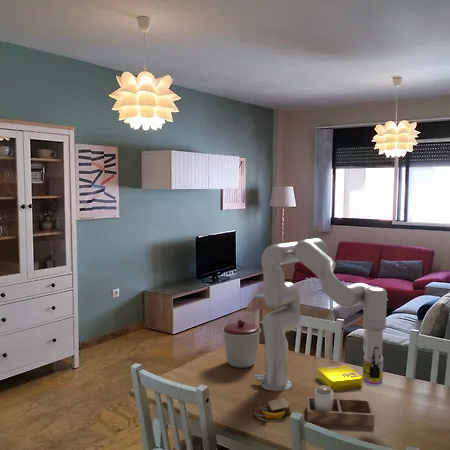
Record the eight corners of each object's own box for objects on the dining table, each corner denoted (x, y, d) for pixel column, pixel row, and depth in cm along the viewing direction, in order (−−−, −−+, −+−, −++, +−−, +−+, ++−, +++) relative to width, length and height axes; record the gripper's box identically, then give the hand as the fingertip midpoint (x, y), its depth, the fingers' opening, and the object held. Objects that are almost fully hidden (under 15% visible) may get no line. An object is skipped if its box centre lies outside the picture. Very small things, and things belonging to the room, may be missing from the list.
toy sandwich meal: (252, 408, 182) (252, 396, 181) (288, 407, 182) (288, 395, 182) (255, 424, 169) (255, 411, 169) (294, 423, 169) (294, 410, 169)
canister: (220, 357, 234) (220, 315, 232) (257, 356, 236) (257, 313, 234) (224, 372, 216) (224, 326, 214) (264, 370, 218) (264, 324, 216)
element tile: (346, 374, 214) (346, 363, 213) (364, 388, 199) (364, 376, 199) (315, 377, 210) (315, 366, 210) (330, 391, 196) (330, 380, 195)
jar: (314, 419, 171) (315, 391, 170) (314, 410, 177) (314, 384, 176) (333, 420, 170) (333, 392, 169) (331, 411, 176) (332, 385, 175)
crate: (307, 424, 168) (307, 411, 168) (306, 409, 180) (306, 396, 179) (374, 428, 165) (374, 414, 165) (368, 412, 177) (368, 400, 176)
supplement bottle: (359, 379, 172) (360, 344, 170) (377, 379, 172) (378, 344, 171) (366, 387, 165) (368, 351, 164) (385, 387, 166) (387, 350, 164)
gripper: (359, 315, 176) (357, 363, 177) (367, 330, 158) (365, 383, 160) (380, 316, 175) (378, 364, 176) (391, 331, 158) (388, 384, 159)
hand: (372, 372), depth 168 cm, fingers closed on supplement bottle, 6 cm apart
